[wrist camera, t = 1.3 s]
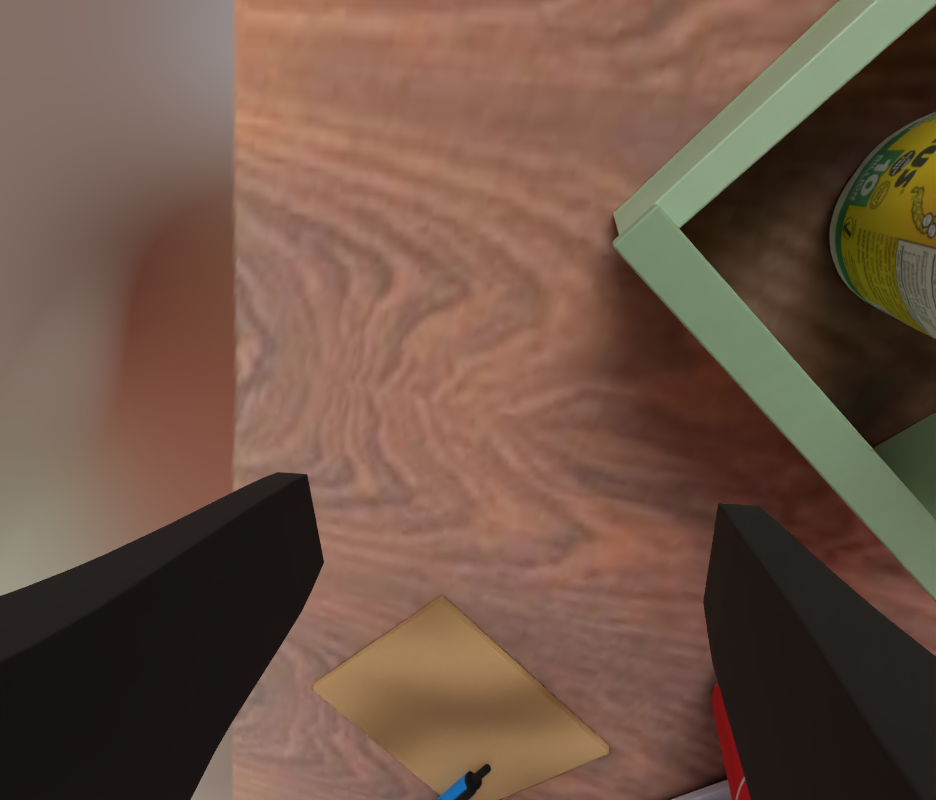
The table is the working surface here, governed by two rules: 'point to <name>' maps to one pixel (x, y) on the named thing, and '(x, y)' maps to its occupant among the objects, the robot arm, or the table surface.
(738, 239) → the table surface
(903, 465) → the tub
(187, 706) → the robot arm
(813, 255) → the table surface
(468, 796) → the pen
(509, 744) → the cork mat
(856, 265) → the supplement bottle
